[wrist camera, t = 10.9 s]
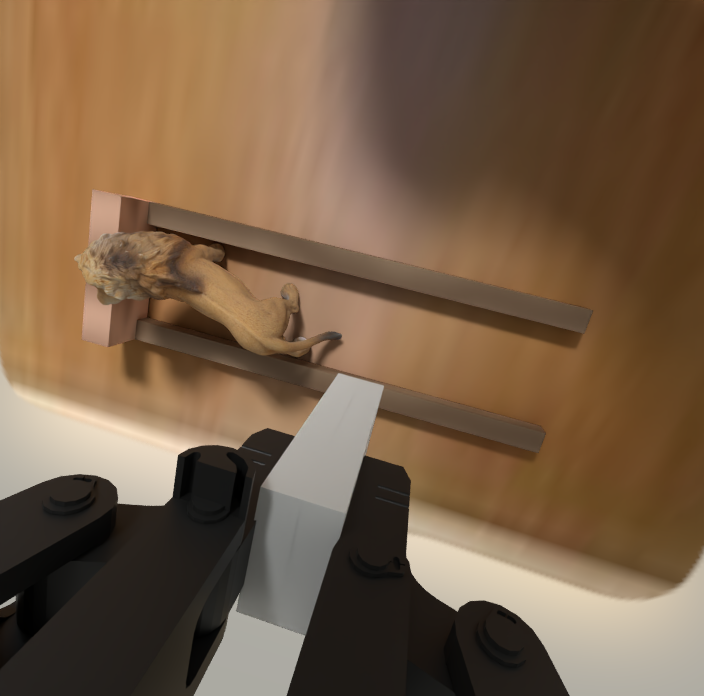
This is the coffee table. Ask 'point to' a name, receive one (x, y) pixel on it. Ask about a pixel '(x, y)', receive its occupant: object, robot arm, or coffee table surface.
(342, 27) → the coffee table surface
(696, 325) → the coffee table surface
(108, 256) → the lion figurine
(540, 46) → the coffee table surface
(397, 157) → the coffee table surface
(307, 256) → the track
